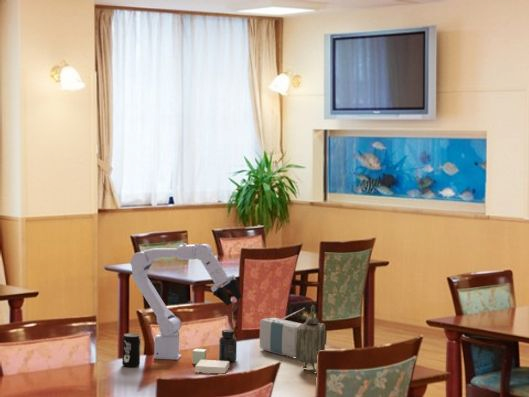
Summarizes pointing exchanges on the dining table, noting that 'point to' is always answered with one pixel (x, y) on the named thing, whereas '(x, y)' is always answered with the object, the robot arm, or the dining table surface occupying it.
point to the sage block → (199, 355)
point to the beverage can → (131, 350)
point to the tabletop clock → (310, 340)
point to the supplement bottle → (227, 346)
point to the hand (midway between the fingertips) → (234, 301)
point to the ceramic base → (212, 366)
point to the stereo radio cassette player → (279, 335)
